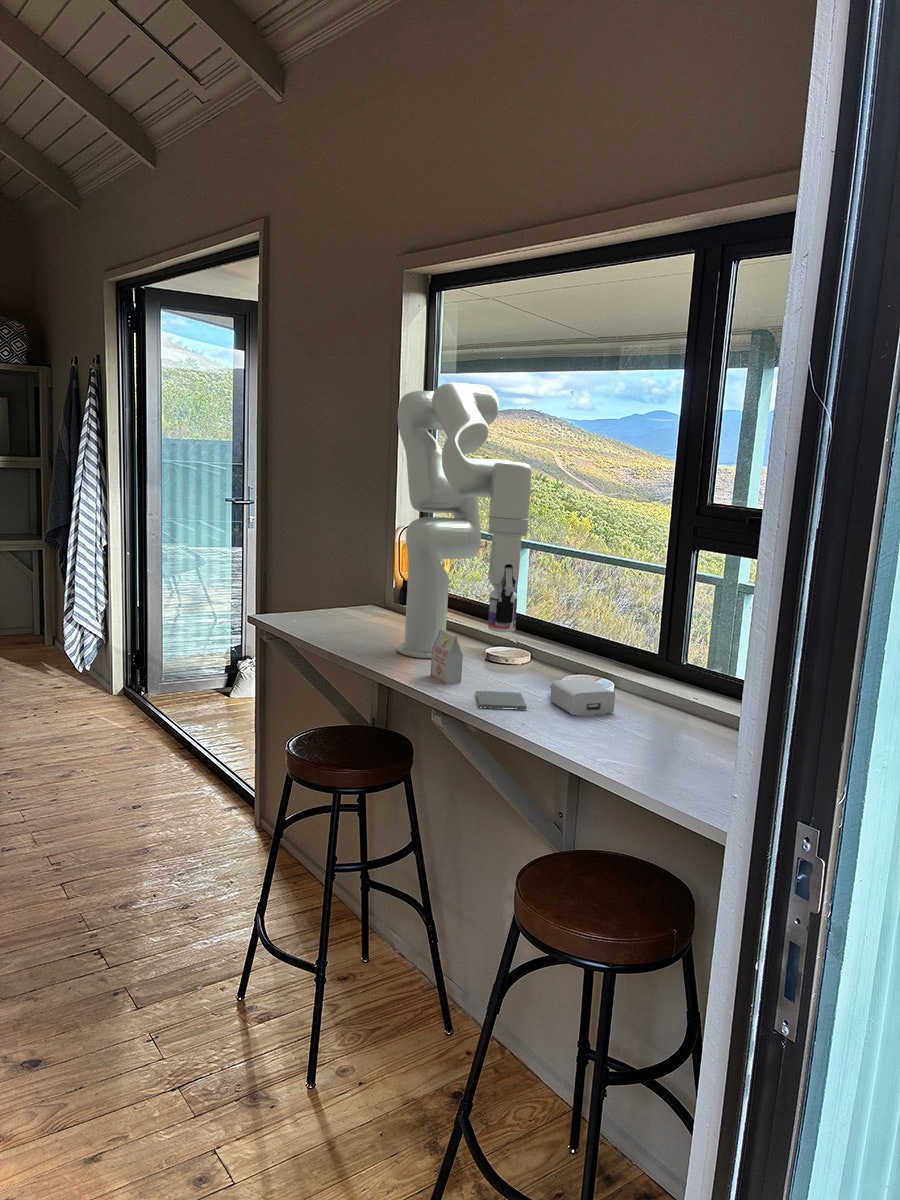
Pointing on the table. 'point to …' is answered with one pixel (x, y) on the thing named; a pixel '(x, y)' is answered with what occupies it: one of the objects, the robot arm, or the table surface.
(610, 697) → the charger
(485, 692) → the coaster
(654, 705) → the table surface
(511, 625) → the pill bottle
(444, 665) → the milk carton
